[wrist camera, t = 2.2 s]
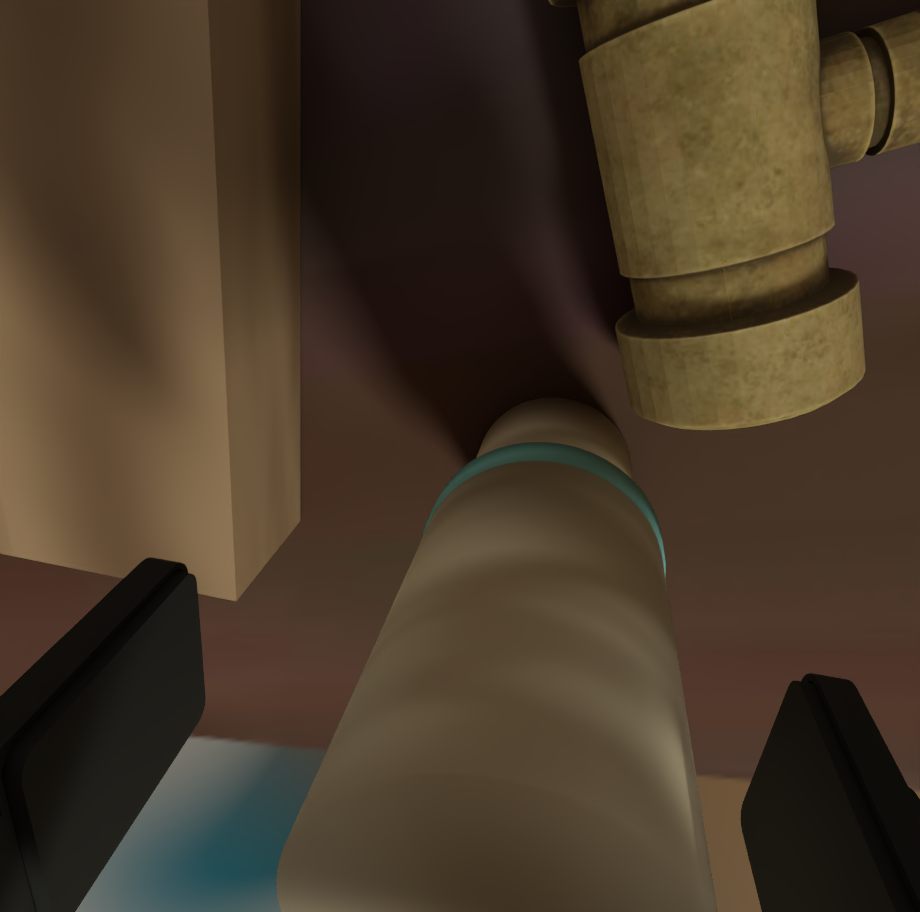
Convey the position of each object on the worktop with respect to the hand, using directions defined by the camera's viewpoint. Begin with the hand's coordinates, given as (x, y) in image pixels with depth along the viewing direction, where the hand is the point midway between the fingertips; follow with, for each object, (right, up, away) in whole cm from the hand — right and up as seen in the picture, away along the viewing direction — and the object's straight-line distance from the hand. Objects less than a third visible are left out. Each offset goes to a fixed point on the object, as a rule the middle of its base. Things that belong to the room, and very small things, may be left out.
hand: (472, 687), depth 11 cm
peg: (+2, +3, +7) cm, 8 cm away
